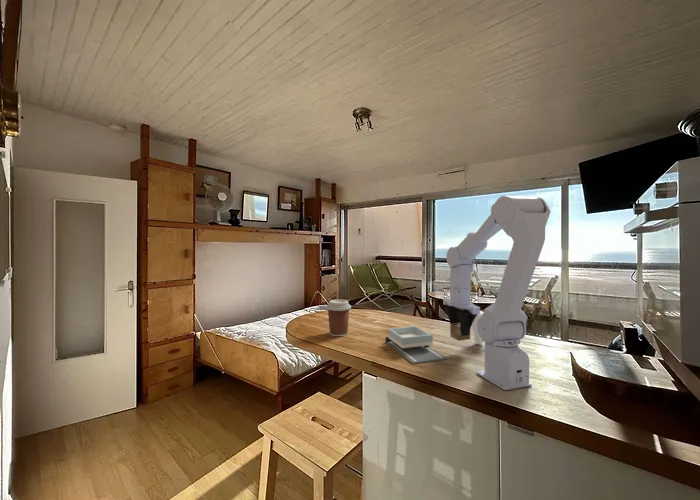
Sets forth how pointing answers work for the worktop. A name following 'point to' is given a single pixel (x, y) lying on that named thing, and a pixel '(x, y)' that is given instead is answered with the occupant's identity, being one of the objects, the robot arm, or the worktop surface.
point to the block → (457, 332)
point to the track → (416, 353)
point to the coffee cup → (338, 317)
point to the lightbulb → (475, 331)
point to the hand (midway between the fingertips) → (460, 333)
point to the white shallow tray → (410, 337)
